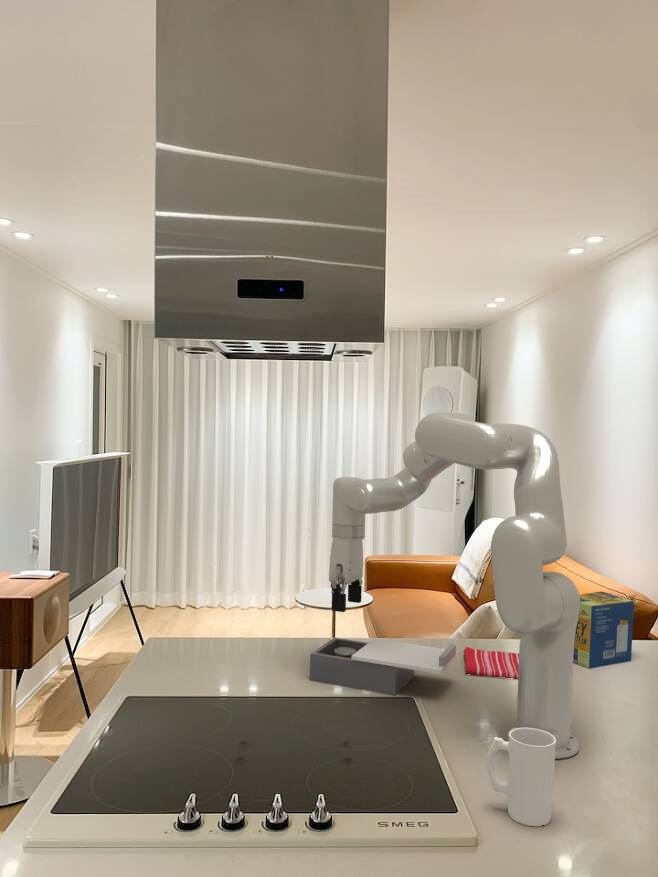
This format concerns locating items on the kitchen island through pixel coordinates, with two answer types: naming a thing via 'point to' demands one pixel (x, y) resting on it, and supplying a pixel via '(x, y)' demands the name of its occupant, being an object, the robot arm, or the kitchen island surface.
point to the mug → (526, 774)
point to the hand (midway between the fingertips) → (346, 606)
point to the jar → (344, 652)
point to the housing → (355, 670)
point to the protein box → (603, 630)
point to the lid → (407, 655)
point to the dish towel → (491, 663)
